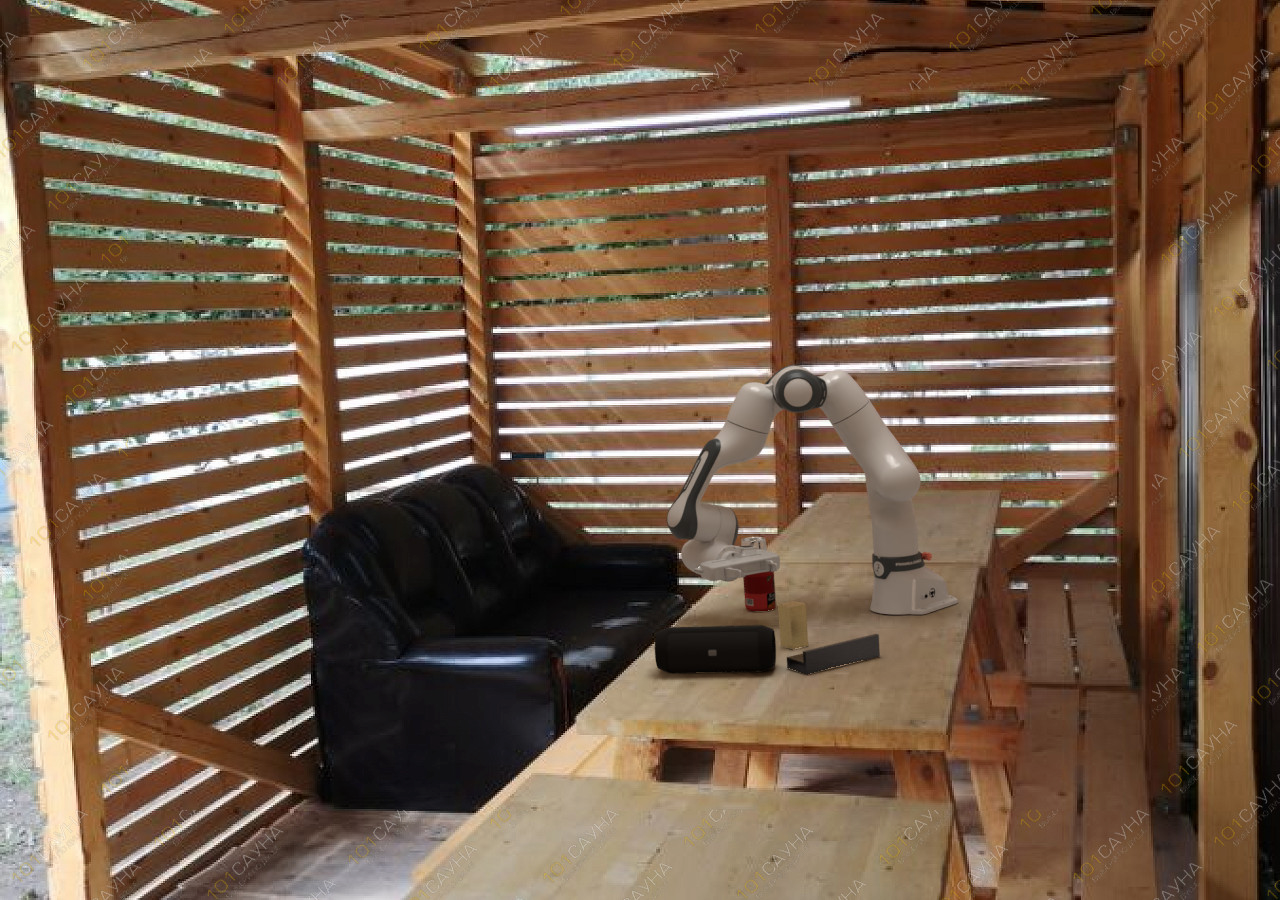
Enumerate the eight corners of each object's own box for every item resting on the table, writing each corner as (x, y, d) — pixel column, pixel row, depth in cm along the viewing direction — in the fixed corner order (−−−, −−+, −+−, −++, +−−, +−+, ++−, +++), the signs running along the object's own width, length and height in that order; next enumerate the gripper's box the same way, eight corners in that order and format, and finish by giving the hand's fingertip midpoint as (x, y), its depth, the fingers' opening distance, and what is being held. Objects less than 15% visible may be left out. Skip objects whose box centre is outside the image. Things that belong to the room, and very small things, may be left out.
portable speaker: (655, 679, 292) (652, 634, 291) (663, 666, 302) (660, 622, 301) (773, 677, 287) (770, 631, 286) (777, 664, 297) (774, 619, 296)
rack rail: (787, 668, 292) (785, 646, 291) (859, 650, 302) (858, 629, 301) (806, 675, 286) (805, 652, 285) (879, 656, 296) (878, 634, 295)
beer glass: (752, 597, 363) (749, 542, 361) (739, 593, 369) (735, 539, 367) (774, 592, 366) (771, 538, 364) (760, 588, 372) (757, 535, 370)
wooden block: (796, 643, 313) (793, 600, 312) (808, 646, 309) (805, 603, 308) (780, 646, 310) (778, 604, 309) (792, 650, 307) (789, 607, 305)
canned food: (774, 612, 344) (771, 569, 343) (743, 613, 346) (740, 570, 344) (777, 605, 351) (775, 563, 350) (747, 605, 353) (744, 564, 352)
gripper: (689, 556, 325) (721, 564, 313) (759, 544, 335) (792, 551, 323) (691, 582, 325) (723, 591, 313) (760, 569, 336) (793, 577, 324)
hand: (758, 570), depth 318 cm, fingers open, 8 cm apart
